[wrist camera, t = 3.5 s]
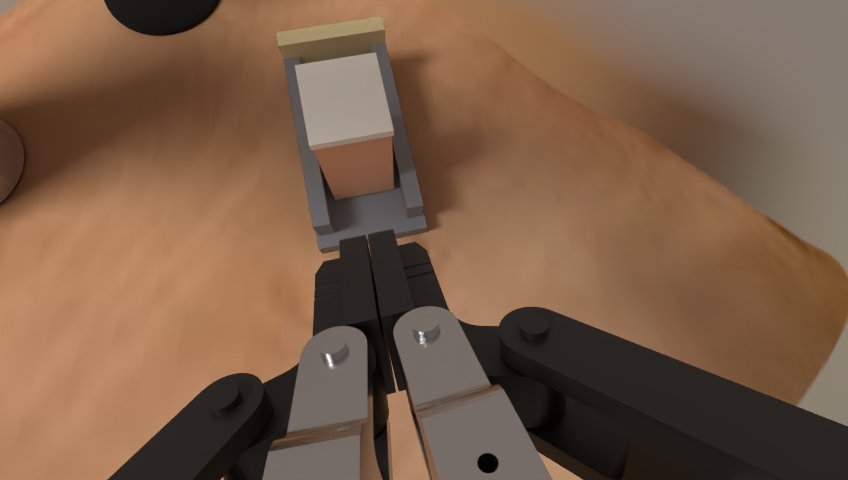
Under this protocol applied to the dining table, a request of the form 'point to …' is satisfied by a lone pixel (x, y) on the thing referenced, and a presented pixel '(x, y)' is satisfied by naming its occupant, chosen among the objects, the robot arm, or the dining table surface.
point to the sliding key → (348, 123)
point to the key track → (405, 200)
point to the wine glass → (160, 14)
